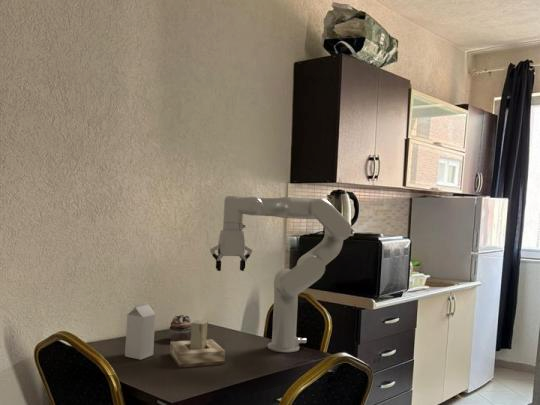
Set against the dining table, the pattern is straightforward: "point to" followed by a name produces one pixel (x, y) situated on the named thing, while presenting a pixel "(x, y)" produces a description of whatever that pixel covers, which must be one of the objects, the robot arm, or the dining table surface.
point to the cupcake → (180, 328)
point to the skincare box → (198, 335)
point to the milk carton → (140, 332)
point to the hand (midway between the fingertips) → (230, 270)
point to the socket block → (196, 354)
